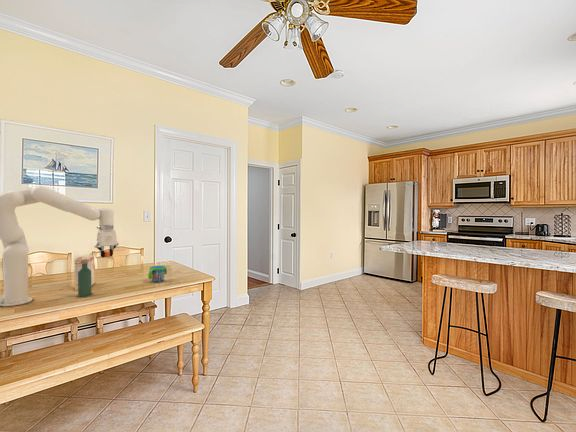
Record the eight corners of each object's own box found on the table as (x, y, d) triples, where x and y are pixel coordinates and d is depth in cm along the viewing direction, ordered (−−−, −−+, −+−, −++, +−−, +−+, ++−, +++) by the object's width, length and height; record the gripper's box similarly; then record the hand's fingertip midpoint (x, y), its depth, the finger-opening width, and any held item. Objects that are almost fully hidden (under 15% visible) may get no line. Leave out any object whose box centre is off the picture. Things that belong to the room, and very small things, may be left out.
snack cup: (161, 277, 207) (161, 264, 207) (172, 279, 203) (172, 265, 203) (142, 282, 193) (142, 268, 193) (154, 284, 189) (154, 269, 189)
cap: (107, 257, 175) (107, 252, 175) (101, 256, 176) (101, 252, 175) (111, 256, 179) (111, 251, 179) (105, 255, 179) (105, 251, 179)
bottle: (81, 297, 160) (80, 264, 160) (76, 295, 164) (75, 263, 163) (93, 294, 166) (93, 262, 165) (88, 293, 169) (88, 261, 169)
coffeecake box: (82, 284, 188) (82, 255, 188) (94, 283, 191) (94, 254, 190) (74, 290, 174) (73, 259, 174) (87, 289, 177) (87, 258, 176)
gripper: (93, 229, 168) (94, 259, 168) (123, 227, 181) (123, 255, 182) (88, 228, 172) (89, 258, 173) (117, 226, 186) (118, 254, 186)
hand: (106, 256), depth 177 cm, fingers closed on cap, 3 cm apart
